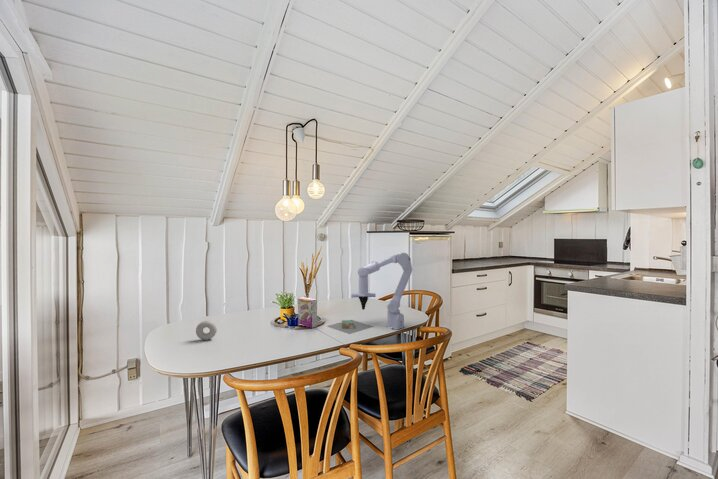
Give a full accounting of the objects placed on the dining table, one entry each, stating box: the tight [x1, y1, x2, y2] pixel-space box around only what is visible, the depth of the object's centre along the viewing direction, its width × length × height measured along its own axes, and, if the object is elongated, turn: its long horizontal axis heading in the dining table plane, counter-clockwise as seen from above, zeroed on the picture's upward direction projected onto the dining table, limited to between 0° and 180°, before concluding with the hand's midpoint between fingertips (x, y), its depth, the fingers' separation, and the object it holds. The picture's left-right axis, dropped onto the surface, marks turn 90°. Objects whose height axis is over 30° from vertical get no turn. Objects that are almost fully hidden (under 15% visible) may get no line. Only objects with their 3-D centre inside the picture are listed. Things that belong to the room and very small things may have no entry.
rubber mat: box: [326, 320, 375, 335], centre depth 196 cm, size 20×20×1 cm
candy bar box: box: [297, 296, 318, 329], centre depth 198 cm, size 11×5×16 cm, turn 58°
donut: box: [195, 320, 218, 341], centre depth 173 cm, size 10×4×10 cm, turn 104°
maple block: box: [341, 319, 355, 329], centre depth 195 cm, size 3×6×7 cm
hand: (363, 309), depth 202 cm, fingers closed
